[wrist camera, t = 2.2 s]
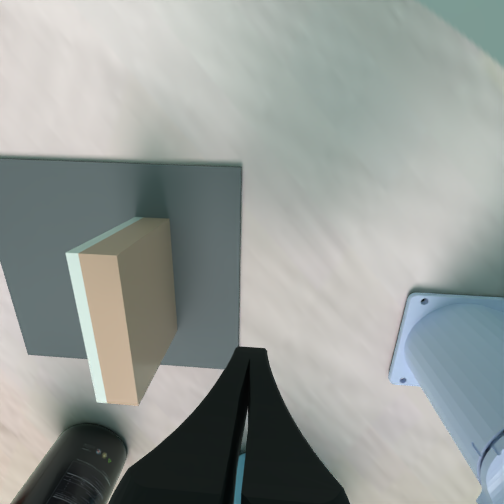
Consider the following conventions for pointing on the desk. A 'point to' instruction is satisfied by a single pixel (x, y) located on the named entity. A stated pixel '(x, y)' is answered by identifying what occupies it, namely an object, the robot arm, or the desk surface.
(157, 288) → the tile
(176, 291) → the mat
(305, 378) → the desk surface
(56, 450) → the supplement bottle
